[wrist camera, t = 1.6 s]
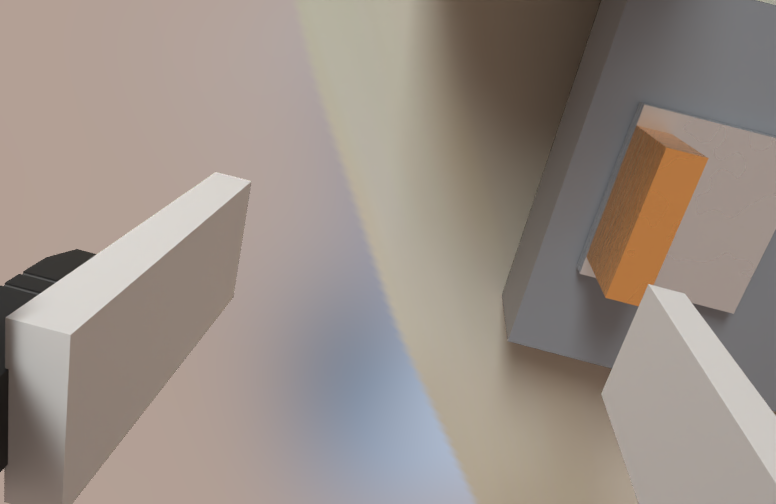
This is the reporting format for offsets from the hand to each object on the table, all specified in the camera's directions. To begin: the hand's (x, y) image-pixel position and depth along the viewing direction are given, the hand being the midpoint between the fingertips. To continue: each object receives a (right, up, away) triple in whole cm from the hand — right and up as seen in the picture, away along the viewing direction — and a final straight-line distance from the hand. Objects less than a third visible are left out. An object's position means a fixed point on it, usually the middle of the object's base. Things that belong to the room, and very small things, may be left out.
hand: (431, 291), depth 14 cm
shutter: (+11, +3, +13) cm, 17 cm away
